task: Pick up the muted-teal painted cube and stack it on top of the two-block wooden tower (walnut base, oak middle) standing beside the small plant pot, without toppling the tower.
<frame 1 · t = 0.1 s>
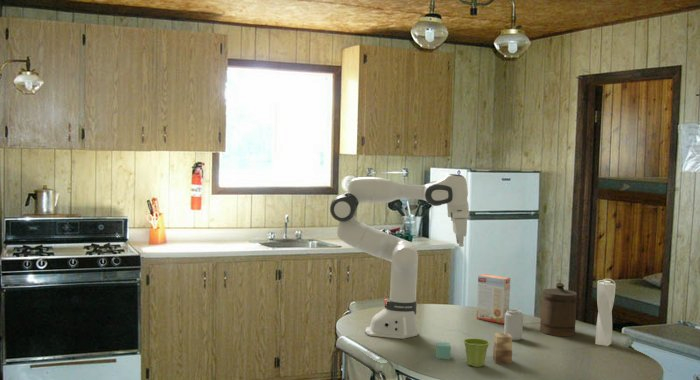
hand: (460, 245, 309), 39 cm above the table, tool pointing down, fingers open, 8 cm apart
walnut base block: (502, 361, 276), on the table, touching oak middle block
teal block: (442, 357, 279), on the table
plant pot: (475, 365, 270), on the table
cracker box: (492, 321, 342), on the table
oak middle block: (502, 348, 275), point 5 cm above the table, touching walnut base block
can: (512, 339, 310), on the table
skyscraper: (603, 344, 306), on the table
wooden container: (557, 332, 324), on the table
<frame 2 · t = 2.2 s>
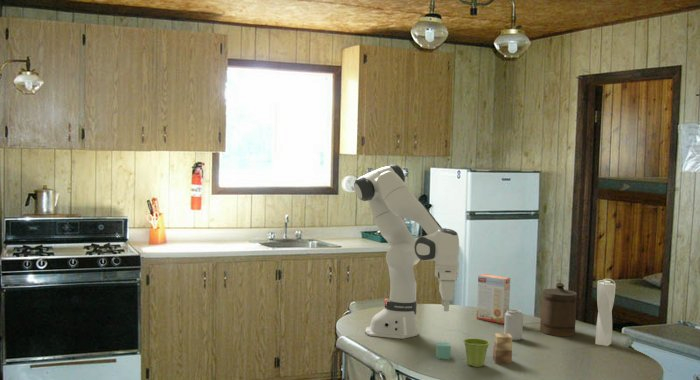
hand: (445, 308, 277), 19 cm above the table, tool pointing down, fingers open, 8 cm apart
nothing on the table moved.
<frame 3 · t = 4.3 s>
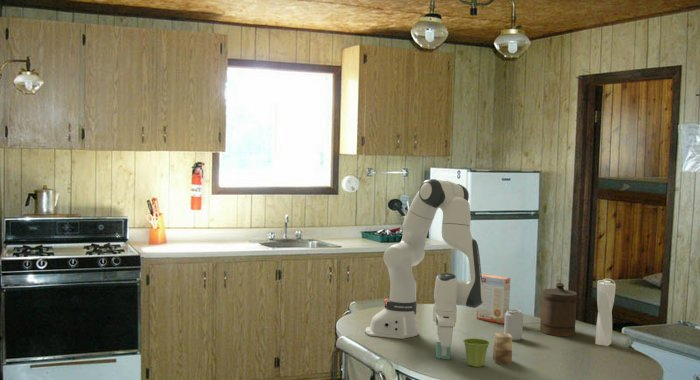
hand: (443, 352, 278), 2 cm above the table, tool pointing down, fingers closed on teal block, 5 cm apart
teal block: (442, 357, 279), on the table, touching gripper
everything else where it was.
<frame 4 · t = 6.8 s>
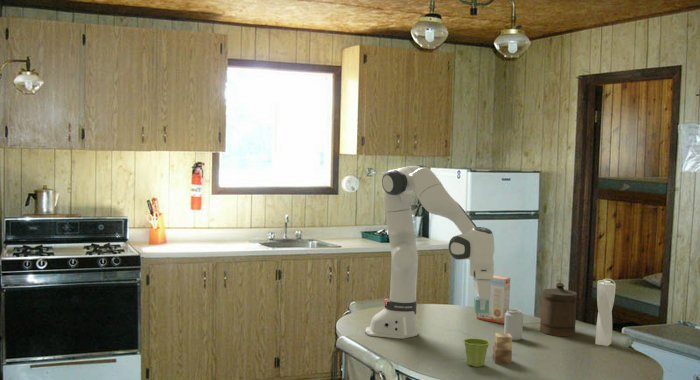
hand: (481, 307, 275), 20 cm above the table, tool pointing down, fingers closed on teal block, 5 cm apart
teal block: (481, 311, 275), point 18 cm above the table, touching gripper
everything else where it was.
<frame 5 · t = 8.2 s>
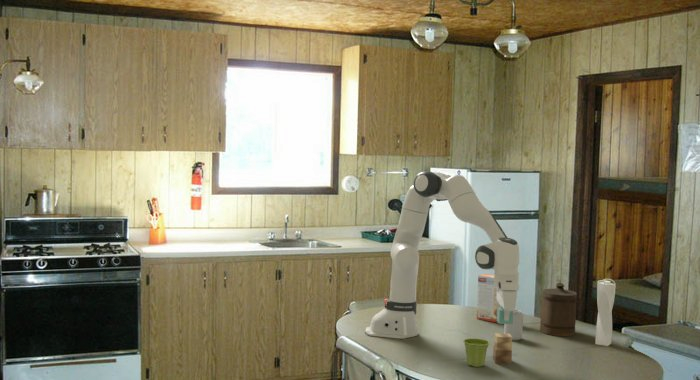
hand: (504, 318, 275), 16 cm above the table, tool pointing down, fingers closed on teal block, 5 cm apart
teal block: (504, 322, 275), point 15 cm above the table, touching gripper
everything else where it was.
when the fingers open (12 cm above the table, at t = 9.4 s): teal block stays where it is, resting on oak middle block.
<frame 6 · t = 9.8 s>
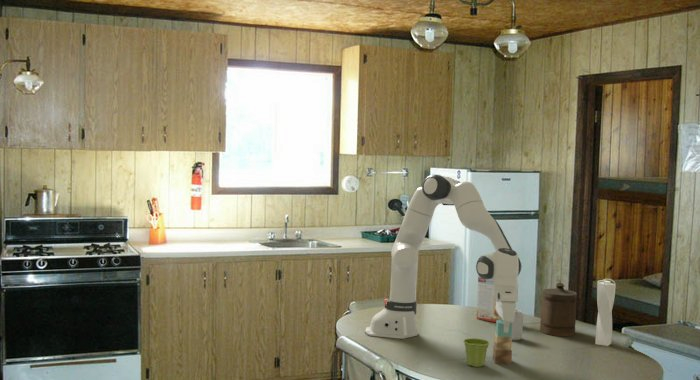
hand: (503, 328, 275), 12 cm above the table, tool pointing down, fingers open, 8 cm apart
teal block: (503, 335, 275), point 10 cm above the table, touching oak middle block
oak middle block: (502, 348, 275), point 5 cm above the table, touching teal block, walnut base block
everything else where it was.
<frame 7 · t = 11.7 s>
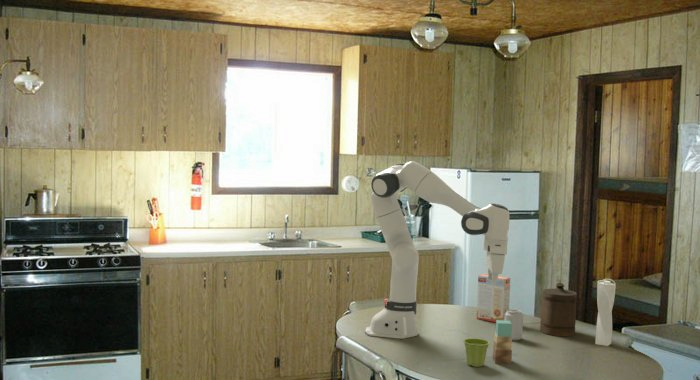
hand: (492, 281, 283), 28 cm above the table, tool pointing down, fingers open, 8 cm apart
nothing on the table moved.
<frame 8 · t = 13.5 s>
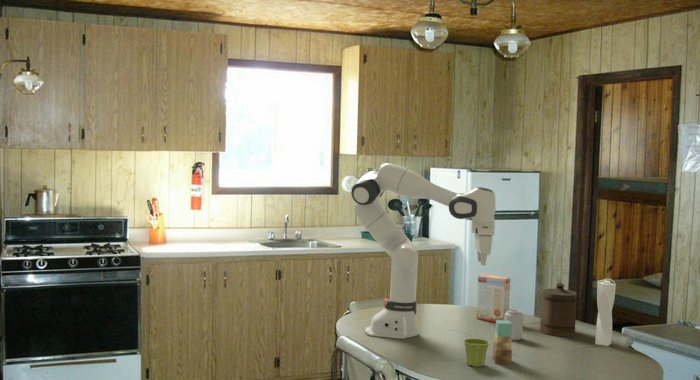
hand: (481, 263, 291), 34 cm above the table, tool pointing down, fingers open, 8 cm apart
nothing on the table moved.
at the end: teal block 0.1 cm off-centre on the oak middle block, point 5.0 cm above the oak middle block's base; oak middle block tilted 0°; teal block point 9.9 cm above the table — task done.
